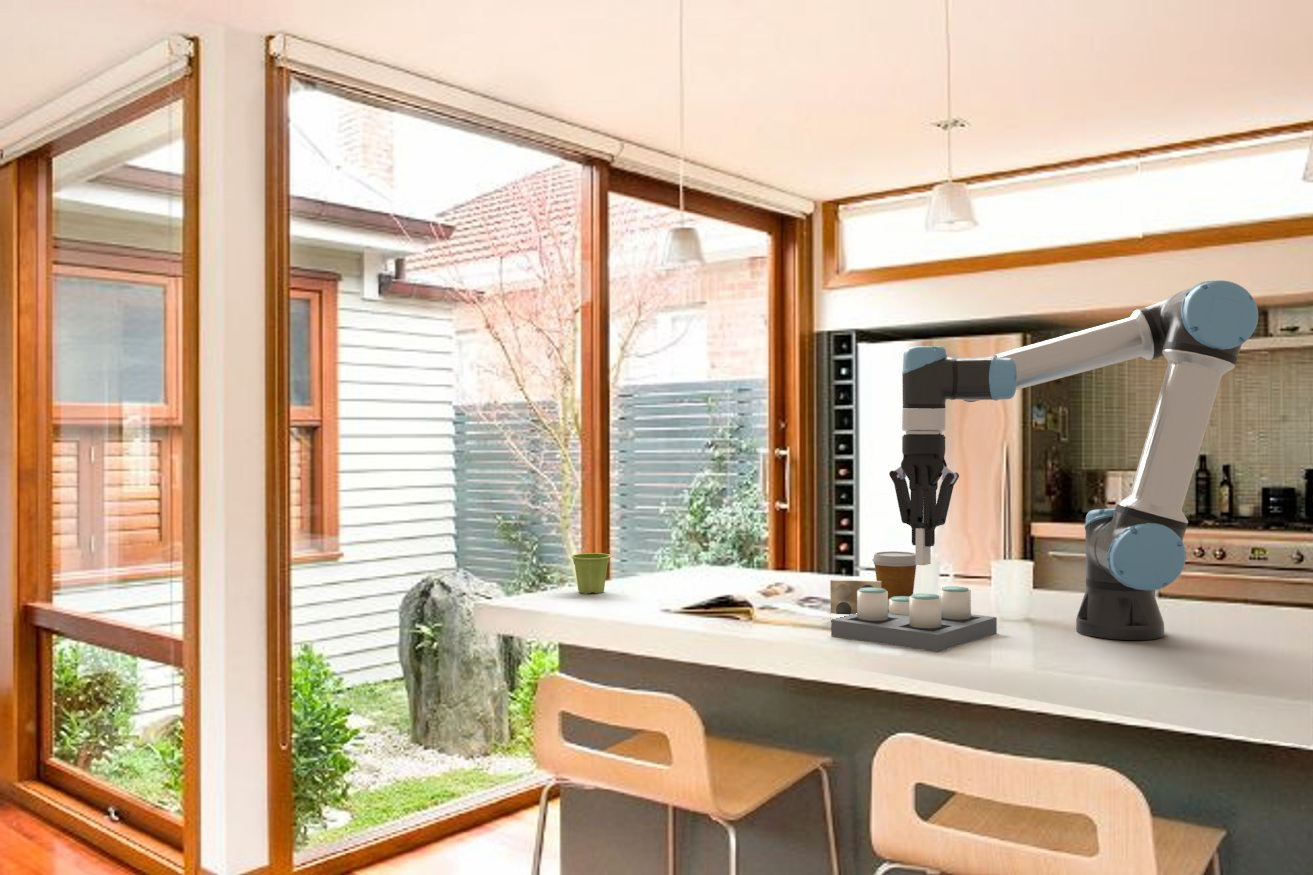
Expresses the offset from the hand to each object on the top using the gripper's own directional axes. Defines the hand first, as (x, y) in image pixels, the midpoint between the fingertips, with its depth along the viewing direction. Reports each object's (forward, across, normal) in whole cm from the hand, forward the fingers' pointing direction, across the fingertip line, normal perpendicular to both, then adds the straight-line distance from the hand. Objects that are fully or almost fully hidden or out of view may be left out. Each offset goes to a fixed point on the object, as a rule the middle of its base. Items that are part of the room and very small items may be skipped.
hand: (922, 564), depth 194 cm
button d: (+11, +11, 0) cm, 15 cm away
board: (+14, +5, -6) cm, 16 cm away
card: (+14, +21, -11) cm, 28 cm away
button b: (+14, +11, -11) cm, 21 cm away
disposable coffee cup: (+14, +21, -26) cm, 36 cm away
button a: (+11, 0, -11) cm, 16 cm away
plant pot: (+15, +89, -2) cm, 90 cm away
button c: (+11, 0, 0) cm, 11 cm away
